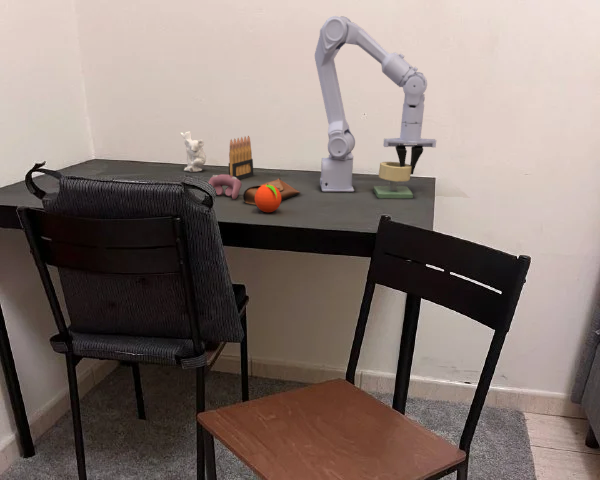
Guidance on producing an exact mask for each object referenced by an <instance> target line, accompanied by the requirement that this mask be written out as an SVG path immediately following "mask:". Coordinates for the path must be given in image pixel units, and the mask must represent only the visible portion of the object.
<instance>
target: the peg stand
mask: <svg viewBox="0 0 600 480" xmlns="http://www.w3.org/2000/svg"><path fill="white" fill-rule="evenodd" d="M372 191H373V192H374V194H375V195H376V197H377V199H413V198H414V194H413V192H412V191H411V189H410V188H408V186H406V185H398V181H390V180H389V185H373V187H372Z"/></svg>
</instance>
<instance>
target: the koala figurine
mask: <svg viewBox="0 0 600 480" xmlns="http://www.w3.org/2000/svg"><path fill="white" fill-rule="evenodd" d="M179 134H180V136H181V137H182V138H183V139H184V145H185V148H186V163H187V164H186V166H185V167H184V169H183V171H187V172H189V173H195V172H197V173H198V172H202V171H203V169H202V168H201V167H203V166H205V164H206V161H207V155H206V152H205V150H204V149H203V147H204V145H205V142H204V140H203V139H198V140H197V139H192V132H191V131H190V130H188V131H185V132H184V133H183V132H182V131H181V132H180V133H179Z"/></svg>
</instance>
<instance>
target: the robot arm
mask: <svg viewBox="0 0 600 480" xmlns="http://www.w3.org/2000/svg"><path fill="white" fill-rule="evenodd" d="M346 44H347V45H353V46H354V45H355V46H358V47H359V48H360V49H362V51H365V52H366V53H367V54H368V55H369V56H370V57H372V58H373V59H374V60H376V61H377V62H378V63H379V64H380V65H381V72H382V73H383V74H384V75H385V76H386V77H387V78H388V79H389V80H391V82H393V83H394V84H395V85H396V86H397V87H398V88H402V90H403V93H404V97H403V98H404V99H403V104H402V114H401V124H400V132H399V137H394V138H393V137H392V138H383V147H384V148H389V147H390V148H393V147H395V151H396V154H397V157H398V162H399V163H400V167H405V164H406V160H407V159H406V158H407V152H408V150H407V148H410V149H411V150H410V151H411V152H410V153H411V154H410V163H409V165H411V166H412V169H411V175H414V172H415V168H416V166H417V163H418V161H419V159H420V158H421V156H422V154H423V152H424V148H437V147H436V146H437V139H436V138H422V137H421V136H422V129H423V122H424V121H423V119H424V111H425V98H426V97H425V96H426V95H425V92H426V90H427V87H428V80H427V78H426V76H425V75H424V73H423V72H421V71H418V67H416V66H412V65H411V64H410V63H409V62H408V61H407V60H405V55H404V54H403V53H398V52H396V51H395V52H391V53H389V52H388V51H387V50H386V49H385V48H384V47H383V46H382V45H381V44H380V43H379V42H378V41H376V39H375V38H373V36H371V35H370V34H369V33H368V32H367V31H366V30H365V29H364V28H362V27H361V26H360V25H358V24H357V23H355V22H353V21H351V20H350V18H348V16H344V15H343V16H342V15H341V16H339V15H332V16H330V17H328V18H327V19H326V21H325V22H324V23H323V24H322V26H321V27H320V29H319V37H318V40H317V45H316V47H315V51H314V62H315V66H316V71H317V76H318V80H319V86H320V90H321V95H322V99H323V104H324V109H325V113H326V118H327V119H326V120H327V123H328V129H327V135H328V143H327V151H328V157H322V158H321V161H320V163H321V164H320V165H321V166H320V169H321V170H320V178H319V185H320V189H321V192H328V193H329V192H331V193H333V192H336V193H337V192H340V193H341V192H351V193H352V192H353V193H354V192H355V189H354V187H353V172H354V171H353V170H354V169H353V168H354V155H353V152H352V151H353V150H354V149H355V146H356V138H355V135H354V134H353V133H352V132H351V130H350V124H349V123H348V122H347V119H346V114H345V109H344V104H343V103H344V102H343V99H342V94H341V93H342V92H341V89H340V82H339V79H338V73H337V68H336V63H335V59H336V56H337V55H338V53H339V52H340V50H341V48H342V47H343V46H344V45H346Z"/></svg>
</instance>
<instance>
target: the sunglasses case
mask: <svg viewBox="0 0 600 480" xmlns="http://www.w3.org/2000/svg"><path fill="white" fill-rule="evenodd" d="M267 184H268V185H273V186H275V187H276V188H277V189H278V190H279V191H280V194H281V201H284V200H288V199H291V198H292V197H293V198H294V197H295V196H297V195H299V194H301V191H299V190H297V189H296V188H294V187H293V186H291V185H289V184H288V183H286V182H285V181H283V180H281V178H280V177H279V178H277V179H275V180H272V181H268V182H264V183H261V184H258V185H252V186H249V187H248V188H246V189H245V190H244V192H243V195H242V199H243V201H244V203H245V204H248V205H253V206H257V205H256V203H255V194H256V191H257V190H258V188H260V187H261V186H262V185H267Z"/></svg>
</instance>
